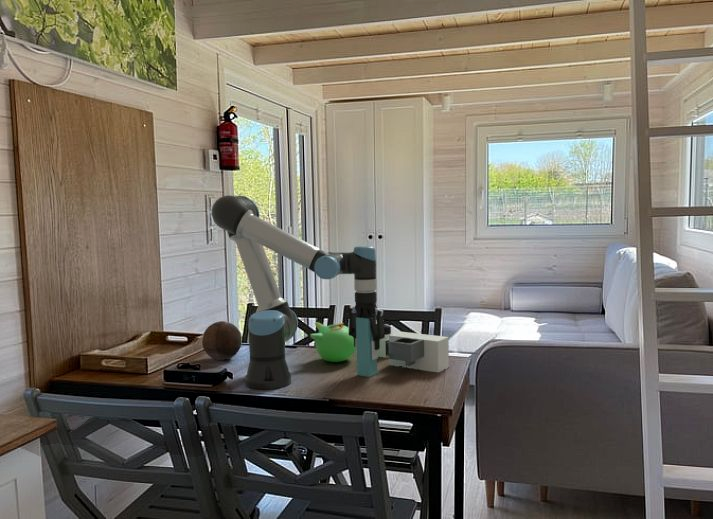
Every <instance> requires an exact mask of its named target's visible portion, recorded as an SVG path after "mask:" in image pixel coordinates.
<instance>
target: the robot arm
mask: <svg viewBox="0 0 713 519" xmlns="http://www.w3.org/2000/svg"><path fill="white" fill-rule="evenodd" d="M259 209H260V208H259V207H258V205H257V204H256V203H255V201H254V200H252V199H251V198H249V197H247V196H243V195H229V194H228V195H223V196H221V197H218V198H217V199H216V200H215V202H213V205H212V208H211V217H212V220H213V222H214V223H215V225H216V227H217V226H218V227H219V228H220V229H222V230H224V231H226V232H227V235H228V238H229V239H230V240H232V241H234V242H235V245H236V247H237V249H238V252H239V255H240V258H241V262H242V264H243V267H244V270H245V272H246V275H247V277H248V278H247V279H248V281H249V284H250V287H251V289H252V293H253V295H254V298H255V301H256V303H257V308H256V310H255V312H254V313H252V314H250V316H249V318H248V323H247V325H248V326H247V328H248V346H249V349H248V350H249V364H248V367H247V373H246V375H245V377H244V379H245V380H244V381H245V382H244V383H245V384H244V385H245V386H246V387H247V388H249V389H254V390H274V389H280V388H284V387H287V386H288V385H290V384H291V383H292V374H291V372H290V371H289V367H288V363H287V360H286V342H288V341H289V340H291V339H292V338H293V337H295V336H294V335H295V334H296V332H297V330H298V328H299V326H298V325H299V321H298V316H297V314H296V313H295V312H294V311H293V310H292V309H291V308H290V305H289V303H288V300H287V299H285V298H283V297H282V295H281V293H280V291H279V288H278V284H277V281H276V278H275V276H274V273H273V270H272V267H271V264H270V262H269V259H268V255H267V253H266V251H265V248H267V249H269V250H271V251H273V252H275V253H276V254H278V255H281V256H283V257H284V258H286V259H288V260H291V261H292V262H294V263H296V264H298V265H300V266H302V267H304V268H306V269H307V270H309V271H311V272H313V273H315V274H316V276H317V277H318V278H320V279H322V280H331V279H334V278H336V277H337V276H339V275H353V276H354V282H353V283H354V285H353V287H354V291H355V292H354V302H355V305H354V306H350V307H348V309H347V311H348V315H349V316H348V318H349V319H348V327H349V336H352V337H353V338H354V347H356V350H355V358H357V344H356V318H357V317H358V318H360V317H363V318H368V319H369V321H370V328H371V332H372V336H373V340H372V360H375V359H377V360H378V359H379V357H378V349H379V348H380V339H383V338H385V334H384V323H385V322H384V315H385V310H384V309H381V308H380V309H379V308H378V306H377V300H378V299H377V298H378V297H377V257H376V256H377V254H376V249H375V247H374V246H371V245H365V246H364V245H361V246H360V245H359V246H355V247H354V246H353V251H351V252H331V251H329V252H327V251H326V250H325V251H324V250H322V249H320V248H319V247H317V246H315V245H313V244H311V243H309V242H307V241H305V240H303V239H301V238H299V237H297V236H296V235H293V234H291V233H289V232H288V231H285V230H283V229H282V228H280V227H278V226H276V225H275V224H271V223H270V222H268V221H266V220H264V219H262V218H261V217H260V210H259ZM264 247H265V248H264ZM372 317H374V318H372ZM371 318H372V319H371ZM375 320H376V321H375Z"/></svg>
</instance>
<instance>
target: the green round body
mask: <svg viewBox="0 0 713 519" xmlns="http://www.w3.org/2000/svg"><path fill="white" fill-rule="evenodd" d="M314 324H315V327H316V328H317V330H318V332H317V333H310V335H309V337H310V338H311V339H312V340H314V341H315V342H314V344H315V349H316V352H317V354H318V355H319V356H320V357H321V358H322V359H323V360H325V361H327V362H329V363H330V362H331V363H339V362H344V361H347V360H348V359H350V358H351V357H352V356H353V355H354V354H355V353H356V347H354V338H353V337H352V336H349V326H346V325H344V322H339V323H336V324H334V323H332V324H329V325H324V324H323V323H320V322H319V321H317V322H315V323H314Z"/></svg>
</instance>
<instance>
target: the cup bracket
mask: <svg viewBox="0 0 713 519" xmlns="http://www.w3.org/2000/svg"><path fill="white" fill-rule="evenodd" d="M422 357H424V340H423V339H414V338H406V337H401V338H398V339H395V340H392V341H389V357H388V360H389V359H394V360H401V361H405V364H406V366H411V365H413V364H415V360H417V359H420V358H422Z"/></svg>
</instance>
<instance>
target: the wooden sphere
mask: <svg viewBox="0 0 713 519" xmlns="http://www.w3.org/2000/svg"><path fill="white" fill-rule="evenodd" d="M201 338H202V339H201V343H202V344H201V345H202V348H203V350H204V352H205V354H206V355H207V356H208V357H210V358H211V359H214V360H216V361H225V360H224V359H227V360H230V359H232V358H233V357H235V355H237V354H238V352H240V349H241V346H242V342H243V341H242V339H243V338H242V333H241V332H240V330H239V328H238V327H237V326H236V325H234V324H233V323H231V322H229V321H224V320H223V321H222V320H221V321H216V322H214V323H213V322H212V324H210V325H209V326H208V327H206V329H205V330H204V332H203V335H202V337H201Z"/></svg>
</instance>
